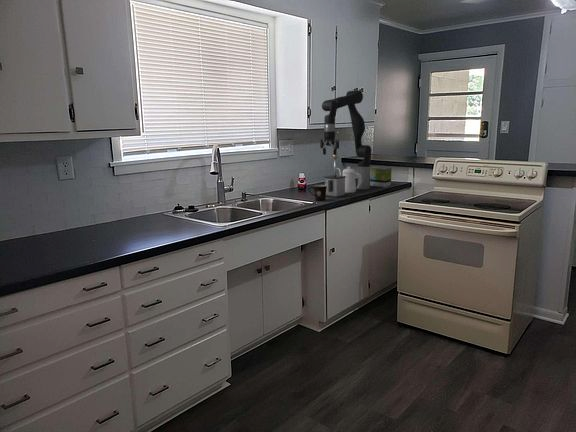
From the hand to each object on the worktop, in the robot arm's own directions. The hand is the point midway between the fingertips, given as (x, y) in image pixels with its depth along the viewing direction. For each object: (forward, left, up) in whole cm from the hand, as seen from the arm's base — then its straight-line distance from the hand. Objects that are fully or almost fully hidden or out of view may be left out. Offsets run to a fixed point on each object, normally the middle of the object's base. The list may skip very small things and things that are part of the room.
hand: (329, 154), depth 301 cm
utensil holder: (-4, +2, -29) cm, 30 cm away
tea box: (-65, +3, -30) cm, 72 cm away
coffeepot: (-25, -1, -30) cm, 39 cm away
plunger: (-4, +2, -19) cm, 20 cm away
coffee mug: (+15, +2, -30) cm, 33 cm away
